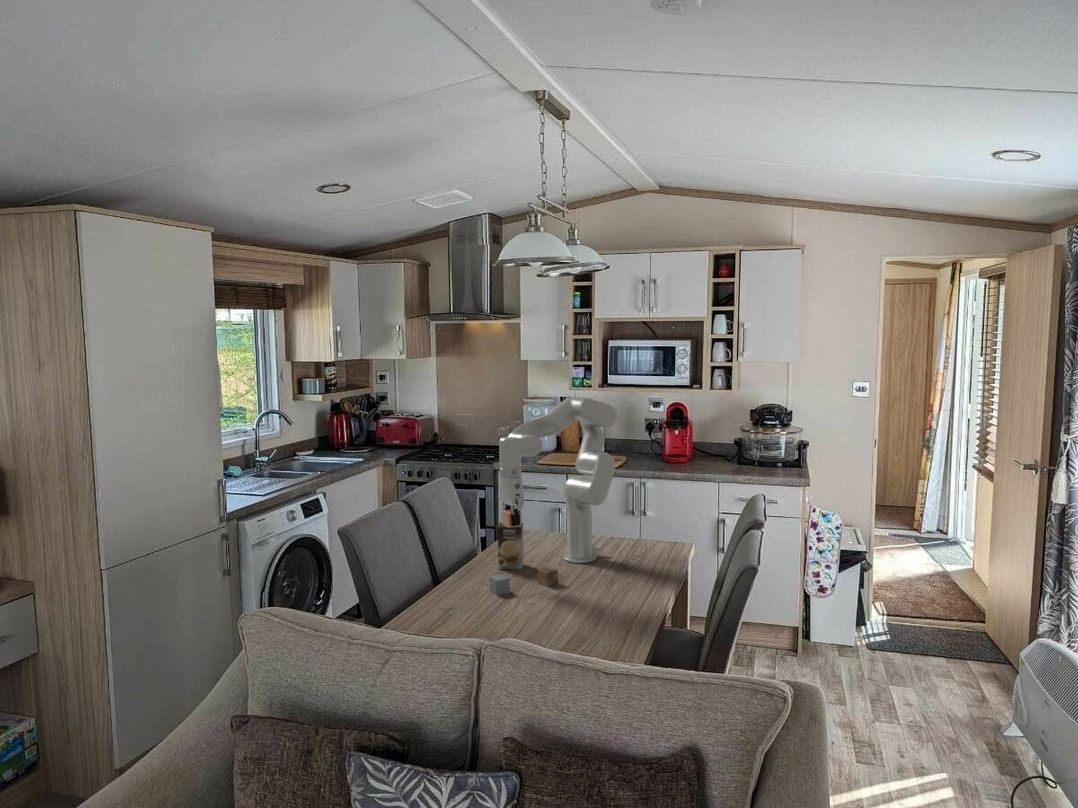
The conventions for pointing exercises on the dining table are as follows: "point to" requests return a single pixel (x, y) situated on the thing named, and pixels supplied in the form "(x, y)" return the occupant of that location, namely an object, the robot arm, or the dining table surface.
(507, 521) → the rust block
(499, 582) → the slate block
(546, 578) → the walnut block
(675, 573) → the dining table surface
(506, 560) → the coffee box
